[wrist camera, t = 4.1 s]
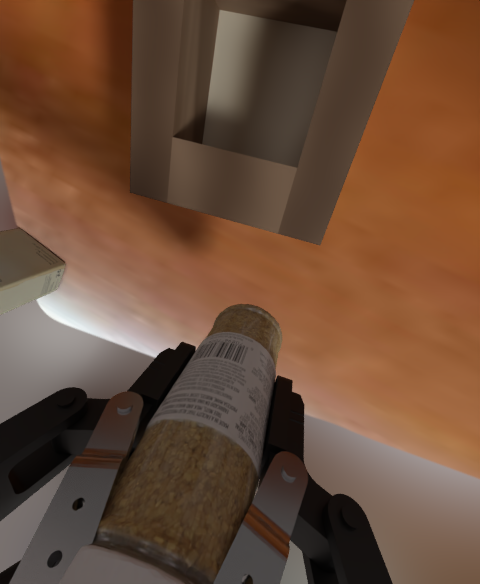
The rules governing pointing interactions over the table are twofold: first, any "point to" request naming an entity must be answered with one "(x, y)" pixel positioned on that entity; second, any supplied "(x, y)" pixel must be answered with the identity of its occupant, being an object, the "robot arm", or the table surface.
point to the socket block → (256, 104)
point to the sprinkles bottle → (191, 464)
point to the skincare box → (25, 270)
